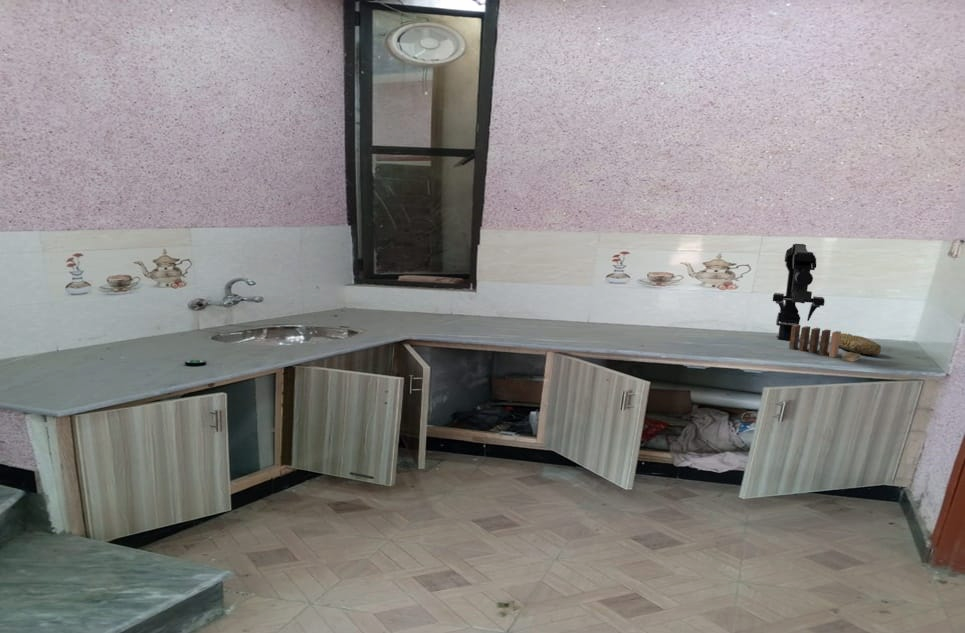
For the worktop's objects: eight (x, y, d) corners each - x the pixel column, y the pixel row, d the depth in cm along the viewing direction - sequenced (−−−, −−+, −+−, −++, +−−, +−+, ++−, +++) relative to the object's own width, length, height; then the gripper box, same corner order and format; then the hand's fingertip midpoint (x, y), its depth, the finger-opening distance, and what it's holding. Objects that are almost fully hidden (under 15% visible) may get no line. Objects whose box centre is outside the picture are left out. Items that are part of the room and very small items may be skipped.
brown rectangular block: (788, 348, 250) (791, 325, 248) (793, 347, 253) (796, 324, 251) (792, 349, 249) (795, 326, 247) (797, 347, 252) (800, 325, 250)
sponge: (827, 348, 259) (849, 349, 239) (832, 331, 259) (854, 331, 239) (858, 355, 257) (883, 357, 237) (863, 338, 257) (888, 339, 237)
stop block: (841, 359, 234) (842, 354, 233) (848, 356, 239) (849, 352, 238) (852, 361, 231) (853, 357, 230) (859, 358, 236) (860, 354, 235)
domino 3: (808, 352, 244) (811, 329, 242) (813, 350, 247) (816, 327, 245) (812, 353, 243) (815, 329, 241) (817, 351, 246) (820, 328, 244)
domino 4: (818, 354, 241) (822, 330, 239) (823, 352, 244) (826, 329, 242) (822, 355, 240) (826, 331, 238) (827, 353, 243) (830, 330, 241)
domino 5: (828, 356, 238) (832, 332, 236) (833, 354, 242) (836, 331, 240) (833, 357, 237) (836, 333, 235) (837, 355, 240) (841, 331, 238)
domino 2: (798, 350, 247) (801, 327, 245) (803, 348, 250) (806, 326, 248) (802, 351, 246) (805, 328, 244) (807, 349, 249) (810, 326, 247)
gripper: (774, 283, 237) (769, 320, 241) (827, 287, 229) (822, 326, 232) (775, 279, 247) (770, 315, 250) (826, 283, 239) (820, 320, 242)
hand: (795, 319), depth 243 cm, fingers open, 9 cm apart
